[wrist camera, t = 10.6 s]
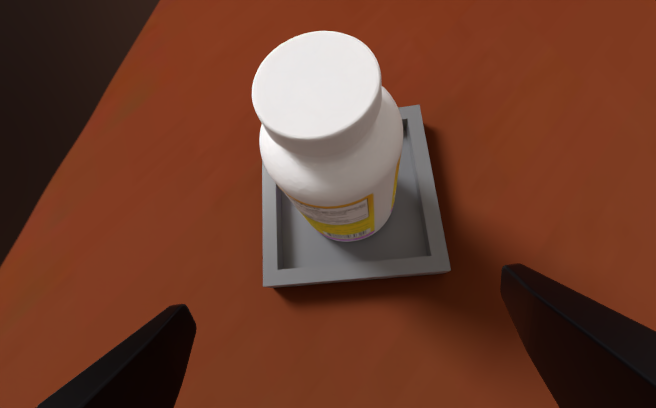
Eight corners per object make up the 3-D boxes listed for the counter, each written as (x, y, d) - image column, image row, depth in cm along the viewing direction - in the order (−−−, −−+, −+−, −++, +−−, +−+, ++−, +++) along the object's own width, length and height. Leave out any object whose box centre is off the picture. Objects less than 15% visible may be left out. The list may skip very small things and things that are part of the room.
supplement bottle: (347, 142, 25) (319, -18, 12) (413, 197, 22) (456, 66, 10) (285, 201, 24) (191, 90, 12) (347, 264, 22) (310, 207, 10)
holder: (444, 273, 21) (450, 270, 19) (272, 287, 23) (263, 286, 21) (416, 119, 25) (419, 104, 23) (270, 140, 26) (262, 128, 24)
